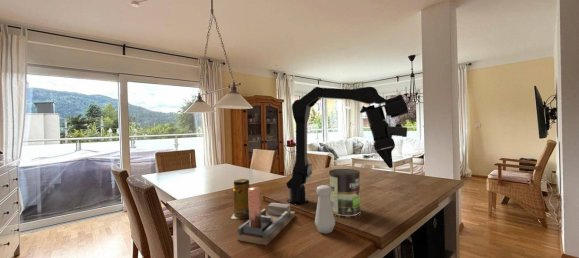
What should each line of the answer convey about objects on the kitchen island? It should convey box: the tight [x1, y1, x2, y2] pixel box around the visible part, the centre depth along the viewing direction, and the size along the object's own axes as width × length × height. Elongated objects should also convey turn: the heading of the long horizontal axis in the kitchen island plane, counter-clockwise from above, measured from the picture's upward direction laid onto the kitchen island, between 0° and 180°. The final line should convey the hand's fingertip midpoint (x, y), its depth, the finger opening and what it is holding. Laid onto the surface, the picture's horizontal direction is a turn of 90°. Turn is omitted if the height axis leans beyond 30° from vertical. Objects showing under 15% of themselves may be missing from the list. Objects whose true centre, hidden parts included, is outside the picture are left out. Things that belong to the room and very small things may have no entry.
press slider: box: [243, 186, 273, 236], centre depth 71 cm, size 6×6×12 cm
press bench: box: [236, 202, 296, 246], centre depth 77 cm, size 21×9×4 cm, turn 157°
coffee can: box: [328, 168, 361, 216], centre depth 87 cm, size 10×10×14 cm
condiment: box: [230, 178, 250, 220], centre depth 88 cm, size 7×8×12 cm
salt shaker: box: [314, 184, 336, 234], centre depth 73 cm, size 6×6×13 cm
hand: (390, 165), depth 88 cm, fingers open, 9 cm apart
